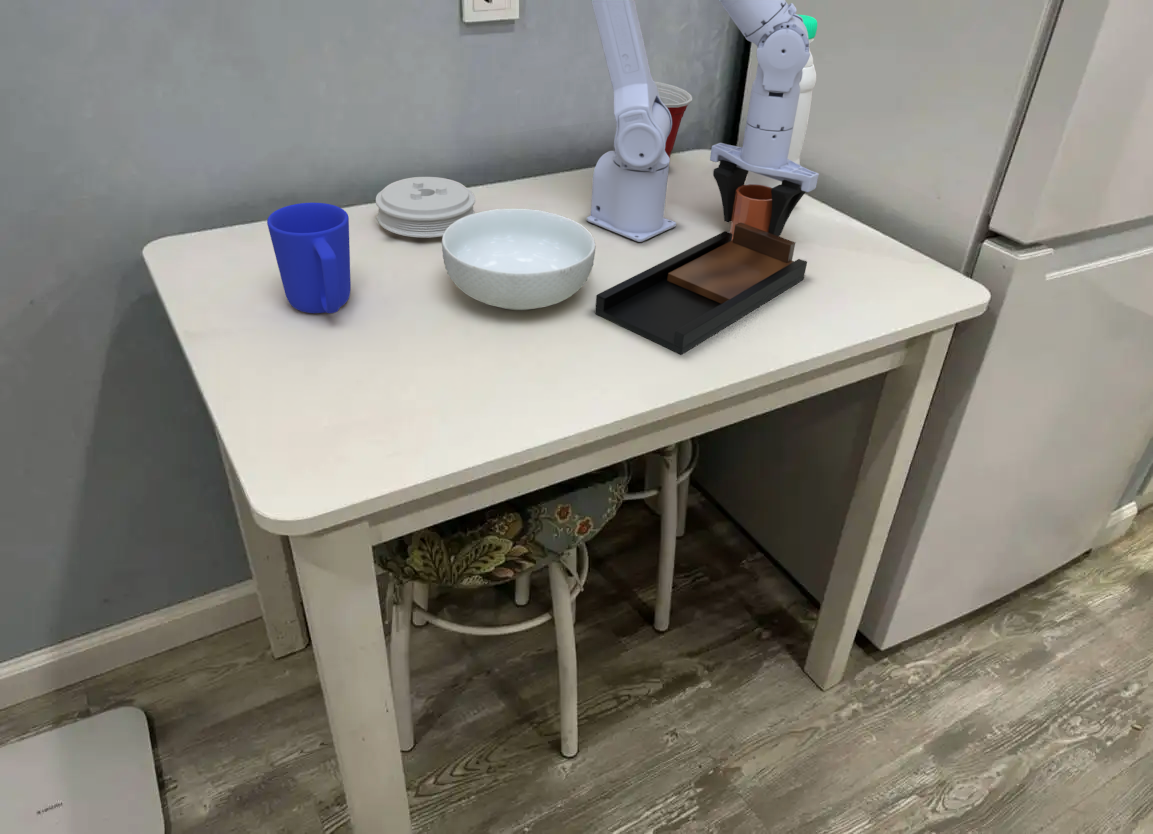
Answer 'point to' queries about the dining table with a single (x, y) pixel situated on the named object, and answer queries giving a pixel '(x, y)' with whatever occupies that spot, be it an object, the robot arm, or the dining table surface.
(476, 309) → the dining table surface
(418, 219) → the lid
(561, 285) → the cereal bowl
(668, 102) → the plastic cup
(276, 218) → the mug
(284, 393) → the dining table surface
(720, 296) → the slide
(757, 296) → the slide rail
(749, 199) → the cup
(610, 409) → the dining table surface
